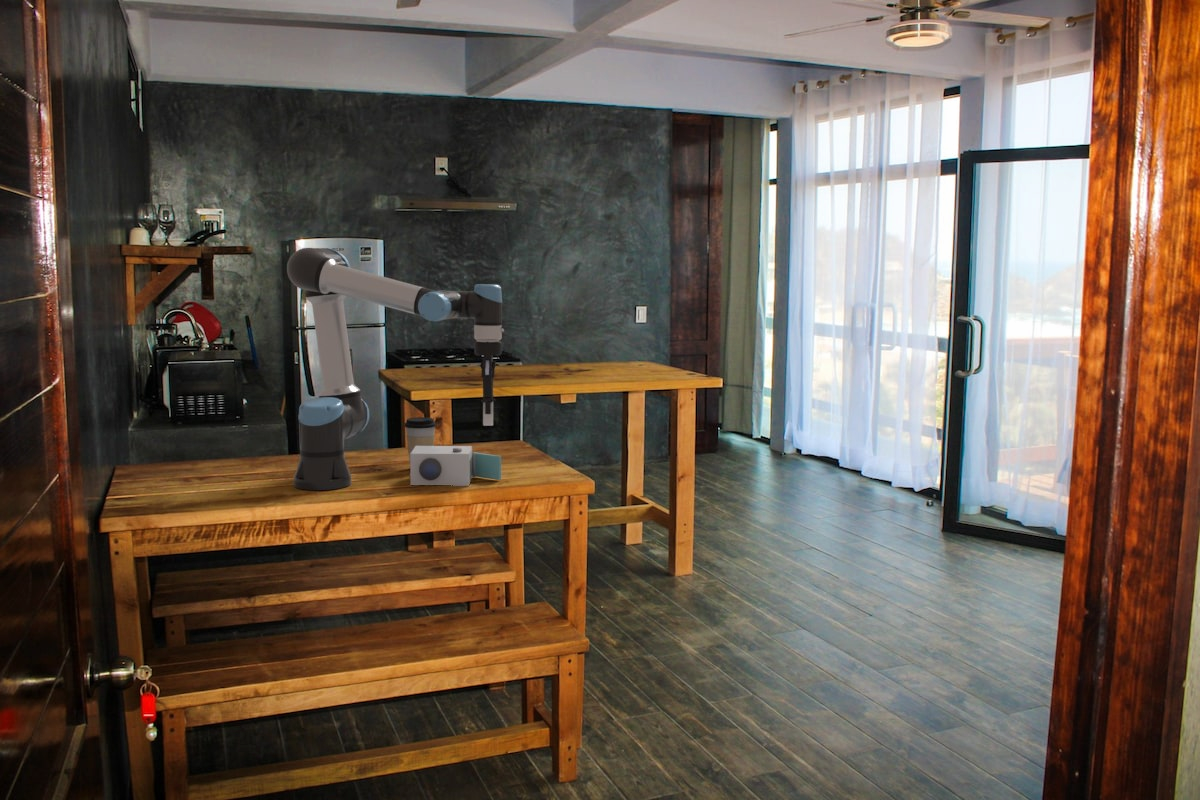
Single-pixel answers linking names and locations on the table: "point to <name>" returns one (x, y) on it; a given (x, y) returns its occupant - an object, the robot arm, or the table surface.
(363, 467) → the table surface
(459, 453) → the cabinet body
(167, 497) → the table surface
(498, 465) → the side door
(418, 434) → the coffee cup
